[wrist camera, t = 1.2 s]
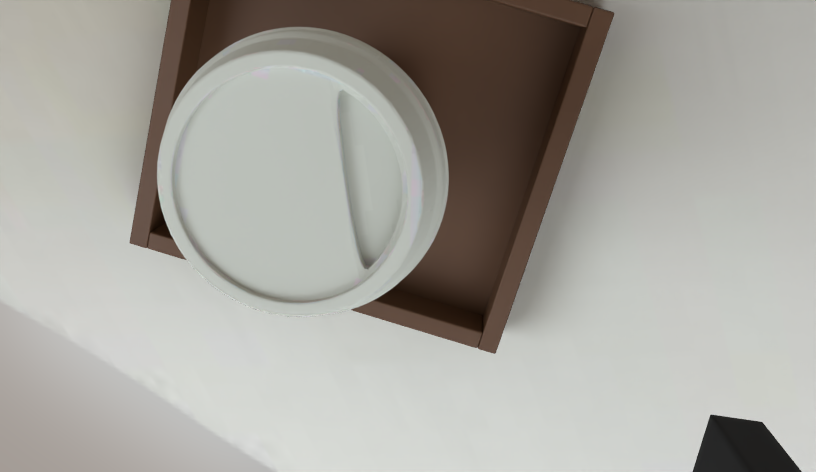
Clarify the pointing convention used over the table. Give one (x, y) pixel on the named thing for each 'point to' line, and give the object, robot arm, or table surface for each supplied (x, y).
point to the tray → (458, 120)
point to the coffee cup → (302, 172)
